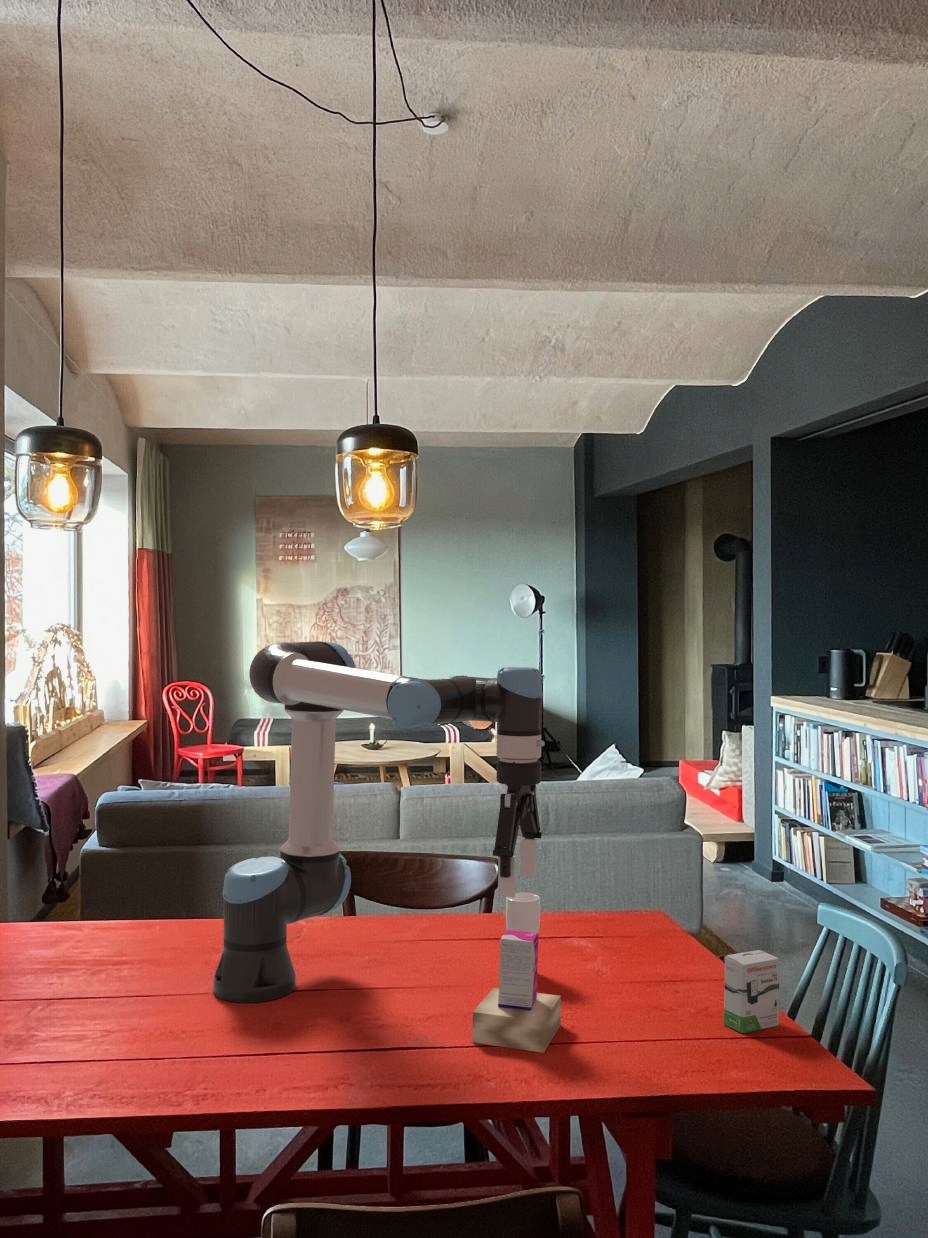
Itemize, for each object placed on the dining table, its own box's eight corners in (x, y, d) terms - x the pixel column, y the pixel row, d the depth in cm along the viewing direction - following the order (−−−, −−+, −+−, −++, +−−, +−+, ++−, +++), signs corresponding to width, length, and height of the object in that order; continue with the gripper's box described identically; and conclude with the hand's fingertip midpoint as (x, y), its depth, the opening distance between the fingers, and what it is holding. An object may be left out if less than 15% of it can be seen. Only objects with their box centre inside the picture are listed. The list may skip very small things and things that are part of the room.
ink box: (742, 1035, 174) (742, 964, 174) (722, 1024, 179) (722, 955, 179) (780, 1026, 178) (781, 956, 178) (760, 1016, 183) (760, 948, 183)
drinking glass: (500, 976, 202) (500, 899, 202) (511, 965, 208) (512, 891, 208) (533, 981, 199) (533, 903, 199) (544, 970, 205) (544, 894, 205)
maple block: (472, 1042, 170) (472, 1012, 170) (493, 1016, 181) (493, 987, 181) (543, 1052, 166) (543, 1021, 166) (560, 1025, 178) (560, 996, 178)
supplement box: (532, 1011, 171) (533, 941, 171) (497, 1008, 172) (497, 939, 172) (538, 999, 176) (539, 931, 176) (504, 995, 178) (504, 928, 178)
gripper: (521, 771, 161) (519, 907, 161) (557, 751, 185) (556, 871, 185) (474, 768, 163) (473, 903, 163) (517, 749, 187) (516, 867, 187)
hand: (517, 886), depth 174 cm, fingers open, 13 cm apart
